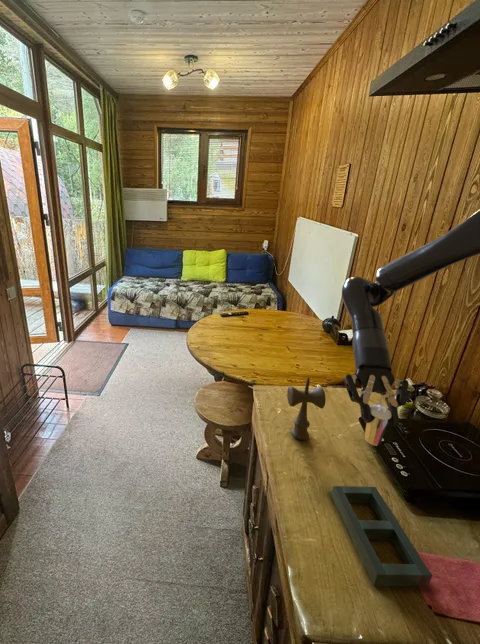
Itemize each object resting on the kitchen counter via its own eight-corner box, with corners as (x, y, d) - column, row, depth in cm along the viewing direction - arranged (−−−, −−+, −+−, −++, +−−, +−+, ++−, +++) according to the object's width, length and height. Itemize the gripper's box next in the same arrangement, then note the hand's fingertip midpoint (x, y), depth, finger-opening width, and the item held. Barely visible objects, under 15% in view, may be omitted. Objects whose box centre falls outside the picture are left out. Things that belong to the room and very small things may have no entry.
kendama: (319, 443, 89) (330, 383, 83) (285, 442, 89) (294, 382, 83) (312, 429, 95) (322, 372, 89) (280, 427, 95) (288, 371, 89)
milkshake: (382, 435, 73) (392, 400, 70) (383, 451, 69) (394, 413, 65) (361, 429, 75) (369, 394, 72) (361, 443, 71) (370, 407, 67)
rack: (372, 496, 73) (375, 486, 72) (428, 586, 56) (432, 575, 55) (331, 495, 73) (333, 485, 72) (373, 585, 56) (377, 574, 55)
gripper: (345, 343, 73) (352, 418, 66) (410, 348, 71) (425, 426, 64) (335, 352, 80) (341, 422, 72) (394, 357, 78) (406, 429, 70)
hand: (380, 423), depth 68 cm, fingers closed on milkshake, 4 cm apart
